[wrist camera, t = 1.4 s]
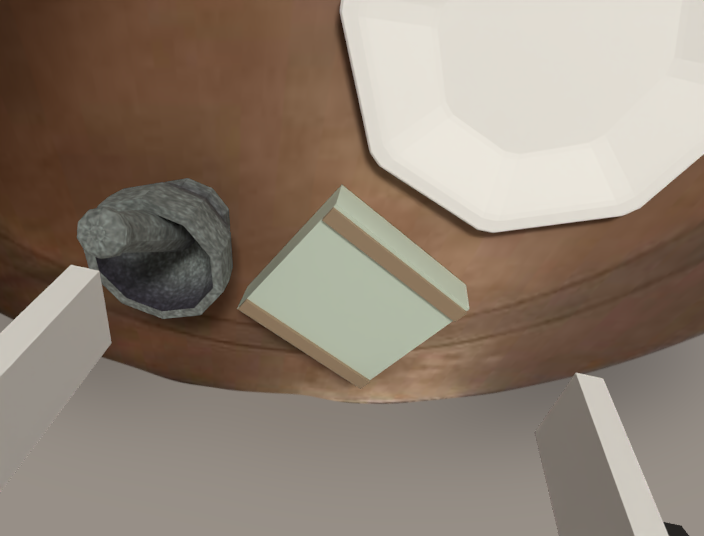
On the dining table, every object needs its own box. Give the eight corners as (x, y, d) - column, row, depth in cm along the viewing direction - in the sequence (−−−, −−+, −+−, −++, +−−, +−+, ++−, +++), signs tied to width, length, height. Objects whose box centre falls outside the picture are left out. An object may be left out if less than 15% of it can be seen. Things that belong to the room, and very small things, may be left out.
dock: (247, 286, 41) (235, 311, 38) (341, 184, 34) (335, 206, 32) (361, 363, 45) (358, 390, 42) (465, 284, 38) (469, 311, 36)
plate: (550, 269, 37) (555, 281, 36) (286, 97, 32) (281, 104, 30) (898, -32, 24) (924, -30, 23) (556, -409, 19) (566, -433, 18)
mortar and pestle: (252, 273, 40) (199, 382, 30) (144, 257, 40) (57, 360, 31) (248, 145, 33) (179, 233, 24) (119, 127, 34) (-2, 207, 24)
